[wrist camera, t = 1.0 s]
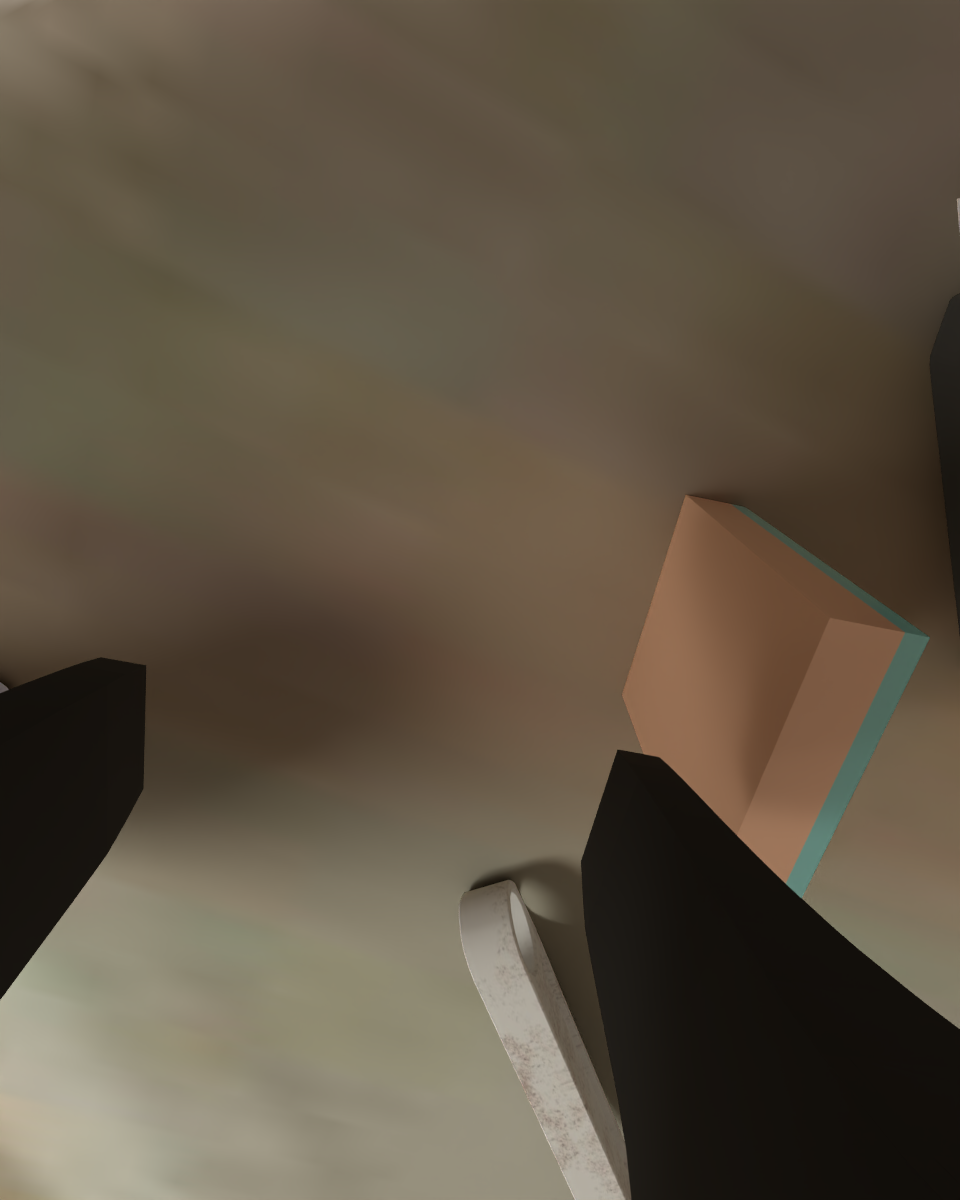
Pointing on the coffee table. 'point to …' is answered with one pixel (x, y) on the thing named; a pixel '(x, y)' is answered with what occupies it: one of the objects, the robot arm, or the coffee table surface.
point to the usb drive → (949, 423)
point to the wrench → (543, 1041)
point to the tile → (765, 681)
